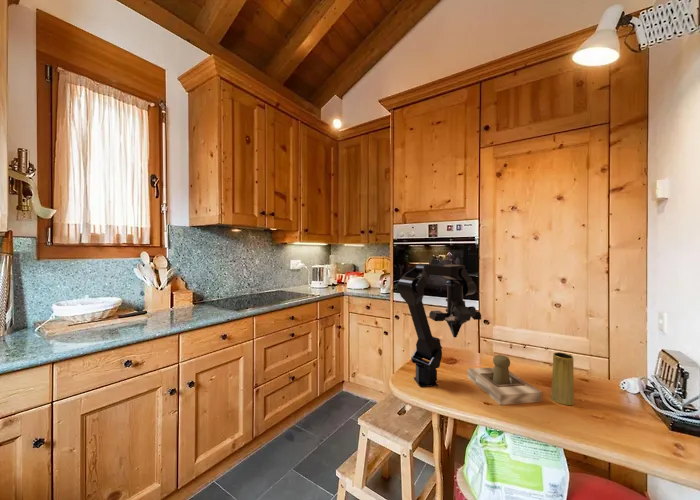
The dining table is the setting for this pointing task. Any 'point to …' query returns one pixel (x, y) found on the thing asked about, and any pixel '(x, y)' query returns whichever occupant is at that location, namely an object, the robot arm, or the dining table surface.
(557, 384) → the vase
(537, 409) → the dining table surface
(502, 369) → the olive tall rounded piece
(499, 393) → the socket board
